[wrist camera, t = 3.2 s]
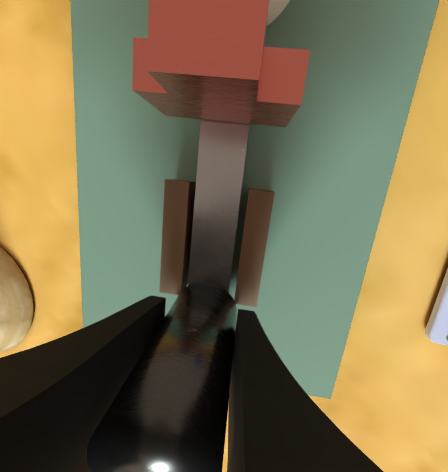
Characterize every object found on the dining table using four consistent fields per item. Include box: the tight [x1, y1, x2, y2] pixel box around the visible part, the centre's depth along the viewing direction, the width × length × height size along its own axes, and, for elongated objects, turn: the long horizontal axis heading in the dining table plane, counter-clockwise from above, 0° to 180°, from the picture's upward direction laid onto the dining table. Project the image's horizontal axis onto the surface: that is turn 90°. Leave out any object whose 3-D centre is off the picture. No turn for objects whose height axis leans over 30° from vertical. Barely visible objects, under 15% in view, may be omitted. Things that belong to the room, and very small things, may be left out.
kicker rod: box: [87, 0, 310, 472], centre depth 7 cm, size 4×11×7 cm, turn 174°
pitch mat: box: [71, 0, 439, 399], centre depth 11 cm, size 14×23×1 cm, turn 174°
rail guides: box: [159, 179, 275, 307], centre depth 11 cm, size 4×5×1 cm
